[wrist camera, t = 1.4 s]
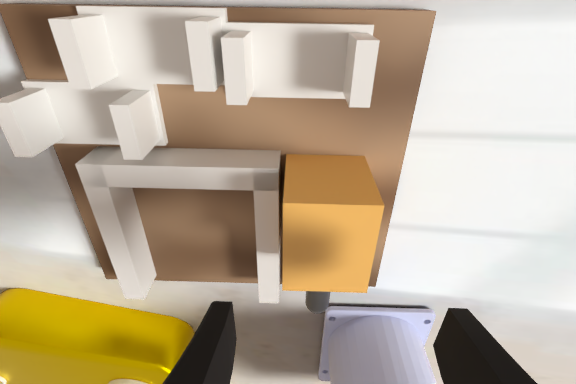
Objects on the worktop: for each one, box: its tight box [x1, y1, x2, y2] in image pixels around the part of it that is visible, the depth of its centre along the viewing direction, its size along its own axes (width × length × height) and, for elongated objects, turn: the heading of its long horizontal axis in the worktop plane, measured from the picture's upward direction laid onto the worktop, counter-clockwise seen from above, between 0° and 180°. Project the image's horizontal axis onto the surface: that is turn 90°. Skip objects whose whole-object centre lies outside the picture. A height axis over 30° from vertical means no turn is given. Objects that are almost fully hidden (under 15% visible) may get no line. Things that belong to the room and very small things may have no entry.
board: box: [0, 3, 436, 287], centre depth 18 cm, size 16×18×1 cm
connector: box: [282, 154, 384, 314], centre depth 17 cm, size 9×4×4 cm, turn 179°
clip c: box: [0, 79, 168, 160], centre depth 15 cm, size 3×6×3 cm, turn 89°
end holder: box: [75, 146, 280, 303], centre depth 18 cm, size 9×9×2 cm
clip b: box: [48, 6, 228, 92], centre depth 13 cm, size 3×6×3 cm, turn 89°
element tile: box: [0, 288, 195, 384], centre depth 27 cm, size 15×15×5 cm
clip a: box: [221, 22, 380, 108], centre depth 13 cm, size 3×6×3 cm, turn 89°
